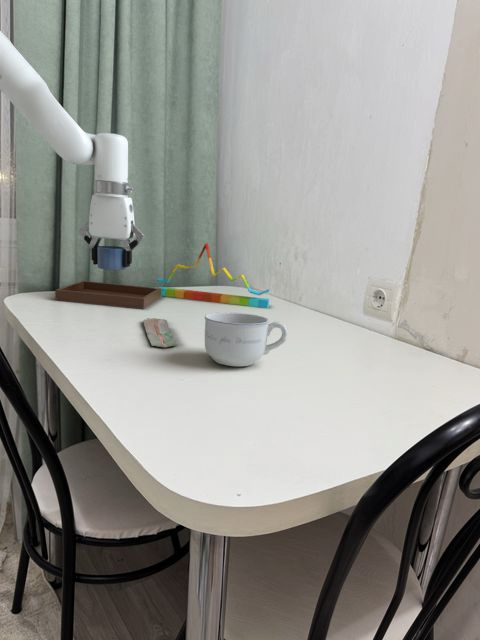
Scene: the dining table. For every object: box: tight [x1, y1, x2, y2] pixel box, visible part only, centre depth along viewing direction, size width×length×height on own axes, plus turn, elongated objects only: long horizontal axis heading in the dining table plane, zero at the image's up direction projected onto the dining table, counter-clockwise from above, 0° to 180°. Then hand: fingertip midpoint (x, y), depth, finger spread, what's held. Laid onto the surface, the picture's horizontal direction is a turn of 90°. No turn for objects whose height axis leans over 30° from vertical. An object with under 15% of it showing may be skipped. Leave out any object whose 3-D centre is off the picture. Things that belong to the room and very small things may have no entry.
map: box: [143, 317, 179, 348], centre depth 99 cm, size 5×20×1 cm, turn 17°
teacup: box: [204, 311, 289, 367], centre depth 85 cm, size 14×11×8 cm
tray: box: [54, 280, 162, 310], centre depth 127 cm, size 21×15×2 cm
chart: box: [156, 242, 271, 309], centre depth 134 cm, size 30×3×15 cm, turn 82°
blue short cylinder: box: [96, 245, 127, 271], centre depth 124 cm, size 7×7×5 cm
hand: (111, 264), depth 125 cm, fingers closed on blue short cylinder, 6 cm apart
